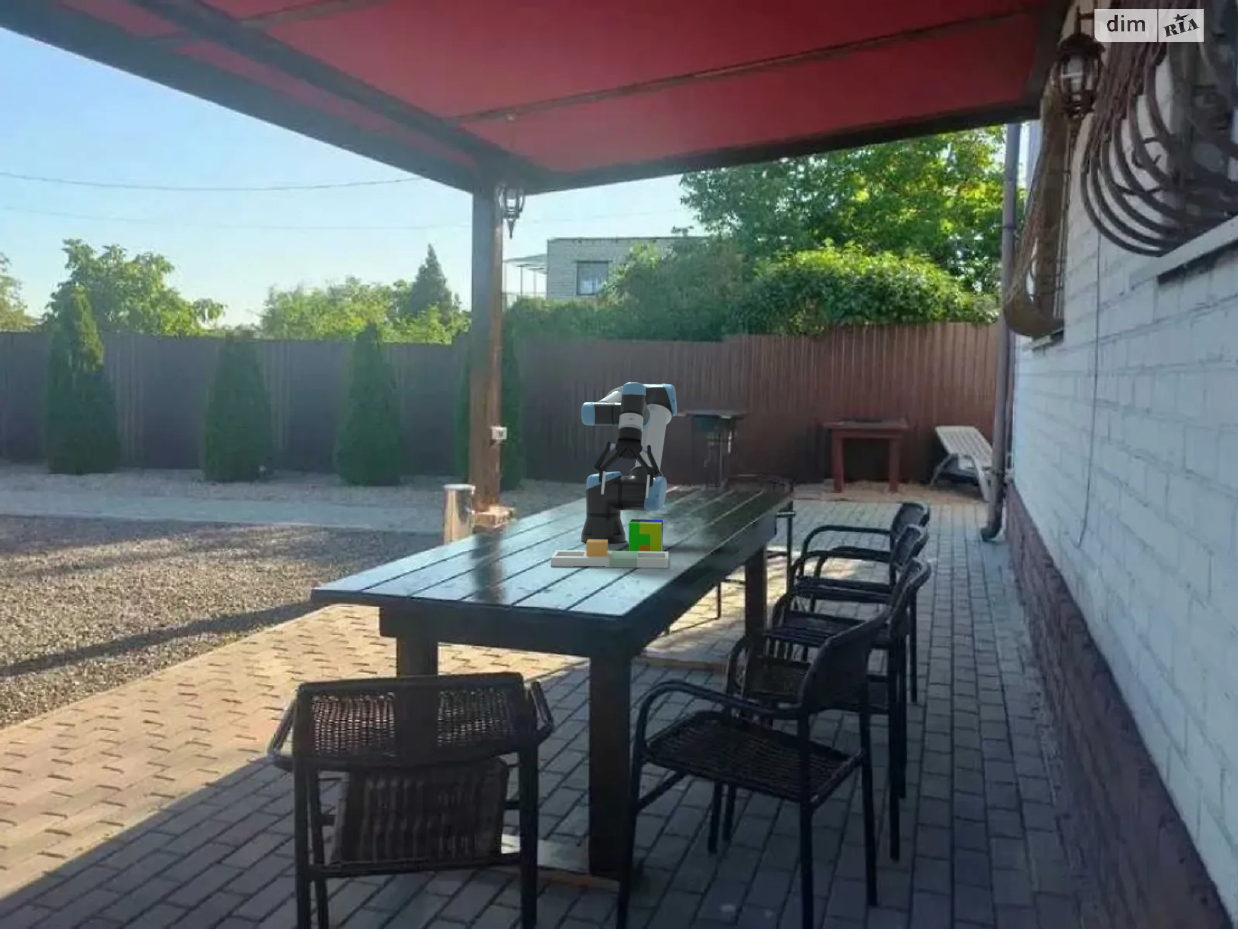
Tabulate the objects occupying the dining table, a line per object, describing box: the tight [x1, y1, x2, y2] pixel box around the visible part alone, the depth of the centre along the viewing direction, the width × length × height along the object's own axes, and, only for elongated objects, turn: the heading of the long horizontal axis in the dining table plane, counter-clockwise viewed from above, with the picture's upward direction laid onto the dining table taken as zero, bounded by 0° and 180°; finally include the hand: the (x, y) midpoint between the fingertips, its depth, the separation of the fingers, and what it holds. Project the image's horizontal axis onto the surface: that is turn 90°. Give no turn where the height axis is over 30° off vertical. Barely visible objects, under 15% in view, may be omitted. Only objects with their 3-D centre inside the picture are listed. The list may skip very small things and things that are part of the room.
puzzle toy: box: [628, 518, 664, 552], centre depth 317 cm, size 10×10×10 cm
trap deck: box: [550, 549, 669, 569], centre depth 298 cm, size 14×34×2 cm, turn 87°
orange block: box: [585, 539, 609, 556], centre depth 298 cm, size 6×6×4 cm
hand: (624, 494), depth 307 cm, fingers open, 13 cm apart
